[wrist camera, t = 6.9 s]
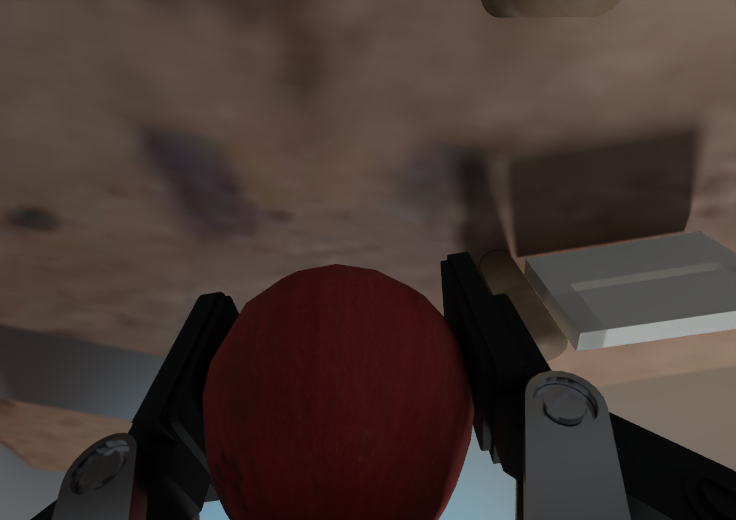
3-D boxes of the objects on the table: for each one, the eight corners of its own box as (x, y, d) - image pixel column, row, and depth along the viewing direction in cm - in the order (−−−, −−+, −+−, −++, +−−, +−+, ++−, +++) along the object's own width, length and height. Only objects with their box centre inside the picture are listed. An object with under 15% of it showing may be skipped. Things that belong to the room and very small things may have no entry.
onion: (333, 377, 14) (320, 714, 7) (207, 284, 11) (1, 677, 5) (467, 299, 12) (618, 652, 5) (355, 166, 9) (373, 532, 3)
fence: (543, -245, 12) (731, -499, 6) (508, 314, 25) (555, 402, 19) (481, -231, 12) (607, -467, 6) (479, 318, 25) (517, 408, 20)
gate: (524, 274, 22) (576, 351, 17) (525, 258, 22) (580, 333, 17) (693, 248, 22) (799, 319, 17) (699, 231, 21) (812, 299, 16)
